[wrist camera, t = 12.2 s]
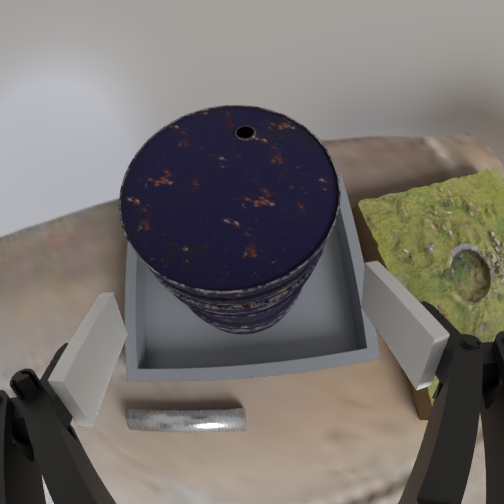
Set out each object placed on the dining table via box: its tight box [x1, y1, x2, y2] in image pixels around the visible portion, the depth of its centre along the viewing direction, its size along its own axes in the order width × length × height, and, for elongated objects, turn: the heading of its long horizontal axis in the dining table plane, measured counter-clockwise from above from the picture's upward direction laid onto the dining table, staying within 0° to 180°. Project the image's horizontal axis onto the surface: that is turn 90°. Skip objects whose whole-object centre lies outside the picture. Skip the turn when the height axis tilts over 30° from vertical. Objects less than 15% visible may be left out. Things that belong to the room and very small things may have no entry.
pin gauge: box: [126, 408, 247, 432], centre depth 22 cm, size 10×2×2 cm, turn 95°
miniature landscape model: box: [352, 169, 504, 420], centre depth 25 cm, size 22×24×5 cm
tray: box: [125, 174, 380, 381], centre depth 26 cm, size 20×17×3 cm
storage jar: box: [119, 105, 341, 335], centre depth 19 cm, size 10×10×15 cm
